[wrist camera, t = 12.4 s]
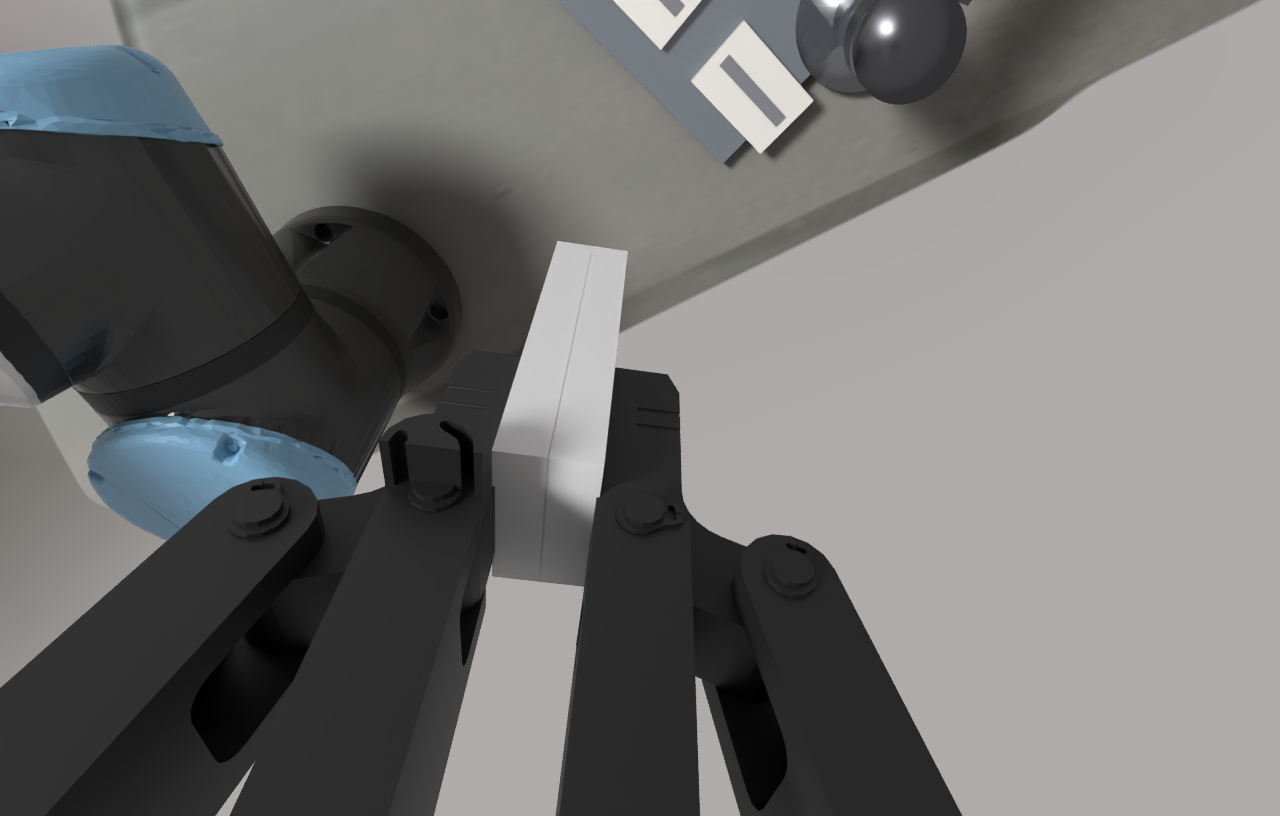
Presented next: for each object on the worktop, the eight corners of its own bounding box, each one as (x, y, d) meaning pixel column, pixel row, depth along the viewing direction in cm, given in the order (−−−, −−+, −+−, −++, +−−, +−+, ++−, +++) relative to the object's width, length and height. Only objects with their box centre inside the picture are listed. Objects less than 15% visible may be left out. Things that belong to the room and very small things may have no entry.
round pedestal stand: (847, 117, 42) (872, 147, 37) (765, 21, 39) (780, 41, 34) (958, 11, 38) (1003, 29, 33) (878, -104, 35) (914, -104, 30)
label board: (732, 173, 44) (734, 180, 43) (545, -15, 38) (541, -12, 37) (852, 52, 40) (858, 57, 39) (661, -186, 33) (661, -189, 32)
